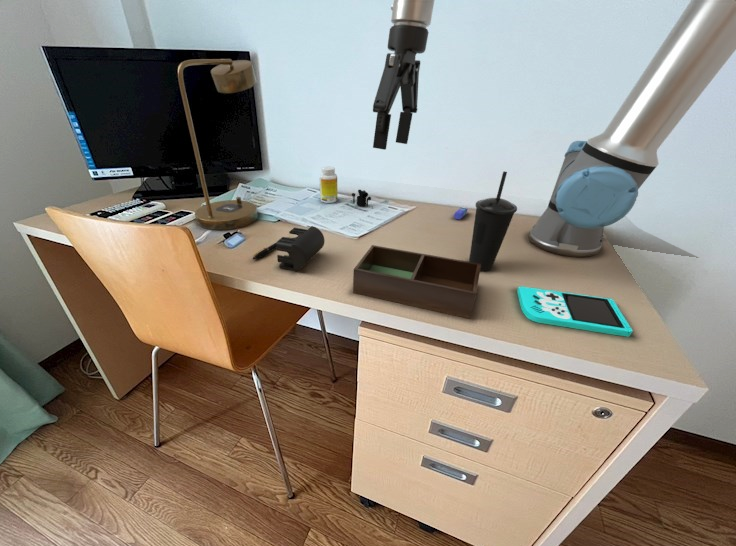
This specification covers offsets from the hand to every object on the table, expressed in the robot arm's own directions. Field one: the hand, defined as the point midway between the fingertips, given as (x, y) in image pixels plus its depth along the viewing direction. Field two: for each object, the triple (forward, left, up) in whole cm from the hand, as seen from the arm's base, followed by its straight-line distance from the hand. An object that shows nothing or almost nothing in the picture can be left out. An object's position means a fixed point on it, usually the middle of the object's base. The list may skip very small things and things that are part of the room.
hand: (391, 145), depth 78 cm
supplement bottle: (+12, -28, -22) cm, 38 cm away
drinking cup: (-18, +19, -22) cm, 34 cm away
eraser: (-25, -10, -22) cm, 34 cm away
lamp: (+40, -20, -22) cm, 50 cm away
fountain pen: (+28, +6, -22) cm, 36 cm away
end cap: (+21, +13, -22) cm, 33 cm away
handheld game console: (-26, +37, -22) cm, 50 cm away
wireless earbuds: (+2, -22, -22) cm, 31 cm away
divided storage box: (-1, +27, -22) cm, 34 cm away
